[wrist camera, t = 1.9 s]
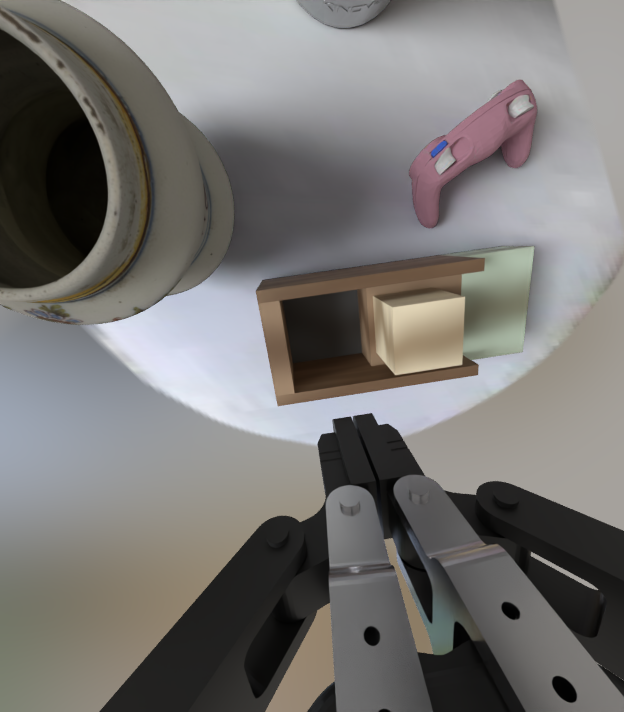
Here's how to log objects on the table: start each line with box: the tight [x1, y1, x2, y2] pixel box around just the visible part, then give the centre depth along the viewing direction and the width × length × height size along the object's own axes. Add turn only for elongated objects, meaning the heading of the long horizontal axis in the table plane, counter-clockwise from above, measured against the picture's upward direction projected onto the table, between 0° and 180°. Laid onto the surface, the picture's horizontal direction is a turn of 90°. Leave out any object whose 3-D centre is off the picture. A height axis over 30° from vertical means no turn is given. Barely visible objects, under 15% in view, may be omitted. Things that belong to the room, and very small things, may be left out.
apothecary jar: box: [0, 0, 234, 325], centre depth 17 cm, size 12×12×18 cm
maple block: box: [373, 287, 465, 375], centre depth 24 cm, size 5×5×5 cm
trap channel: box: [256, 246, 534, 406], centre depth 27 cm, size 9×22×7 cm, turn 97°
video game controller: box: [409, 80, 537, 228], centre depth 24 cm, size 10×5×7 cm, turn 125°
